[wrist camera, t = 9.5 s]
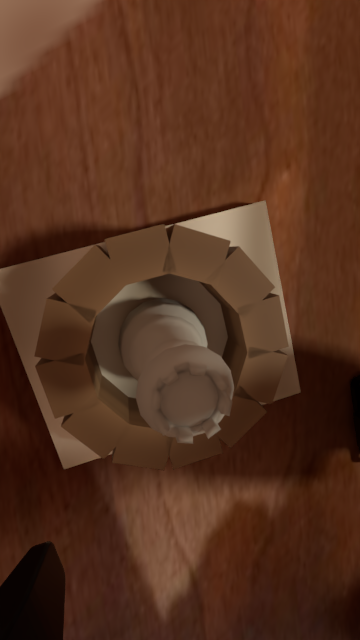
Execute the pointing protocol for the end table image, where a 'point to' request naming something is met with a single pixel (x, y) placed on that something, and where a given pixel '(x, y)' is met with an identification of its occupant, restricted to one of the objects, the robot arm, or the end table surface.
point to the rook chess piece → (175, 370)
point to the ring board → (113, 308)
